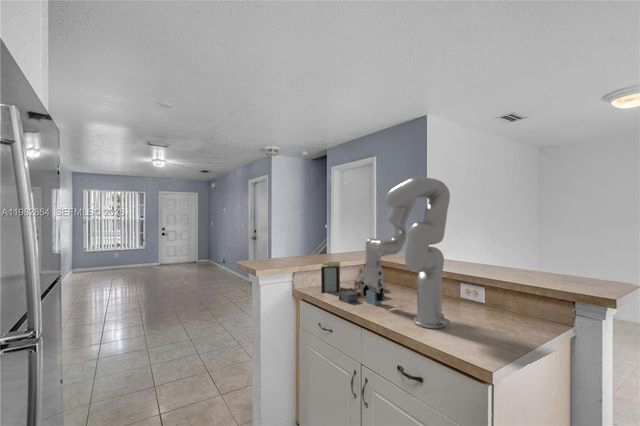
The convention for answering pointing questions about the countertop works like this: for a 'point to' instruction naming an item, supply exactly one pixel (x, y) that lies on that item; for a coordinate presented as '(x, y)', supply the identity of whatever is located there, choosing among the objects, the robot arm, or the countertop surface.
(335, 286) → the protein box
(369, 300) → the book
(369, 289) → the book
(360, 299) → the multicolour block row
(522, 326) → the countertop surface
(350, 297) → the dark grey block
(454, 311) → the countertop surface
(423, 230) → the robot arm
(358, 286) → the ceramic cottage
